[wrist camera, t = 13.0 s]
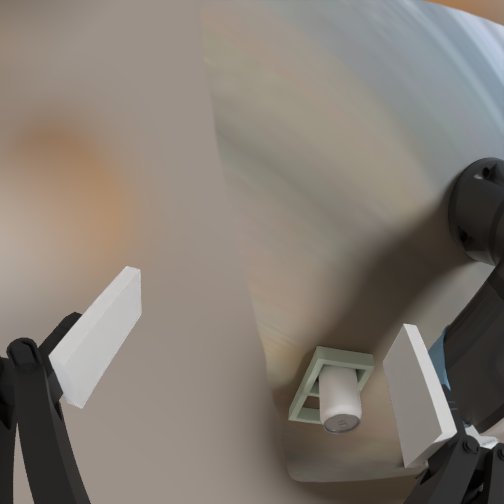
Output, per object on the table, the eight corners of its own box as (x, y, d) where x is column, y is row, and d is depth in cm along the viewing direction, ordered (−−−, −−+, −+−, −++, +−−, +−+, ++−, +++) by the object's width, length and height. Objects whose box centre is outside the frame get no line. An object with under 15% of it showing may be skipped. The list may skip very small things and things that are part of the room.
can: (348, 351, 49) (357, 408, 38) (359, 374, 51) (367, 428, 40) (313, 363, 51) (314, 419, 40) (325, 385, 53) (327, 438, 42)
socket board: (373, 354, 48) (376, 366, 46) (337, 414, 56) (338, 425, 54) (317, 345, 49) (318, 358, 46) (289, 408, 57) (288, 419, 54)
